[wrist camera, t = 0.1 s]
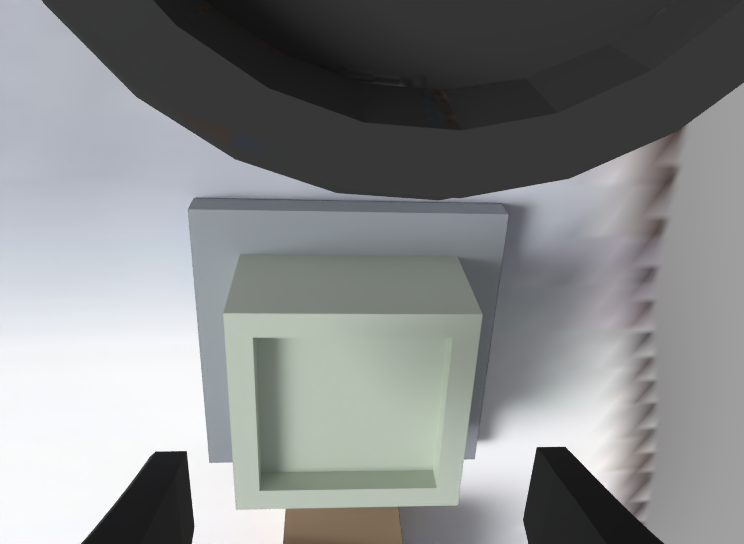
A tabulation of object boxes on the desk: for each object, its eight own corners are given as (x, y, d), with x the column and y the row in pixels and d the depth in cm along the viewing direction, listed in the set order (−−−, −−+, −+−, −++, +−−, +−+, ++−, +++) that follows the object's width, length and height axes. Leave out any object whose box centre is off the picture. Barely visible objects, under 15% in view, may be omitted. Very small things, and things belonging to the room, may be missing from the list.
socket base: (469, 441, 26) (498, 538, 22) (213, 444, 25) (190, 545, 21) (501, 203, 22) (544, 265, 17) (193, 198, 21) (159, 261, 17)
